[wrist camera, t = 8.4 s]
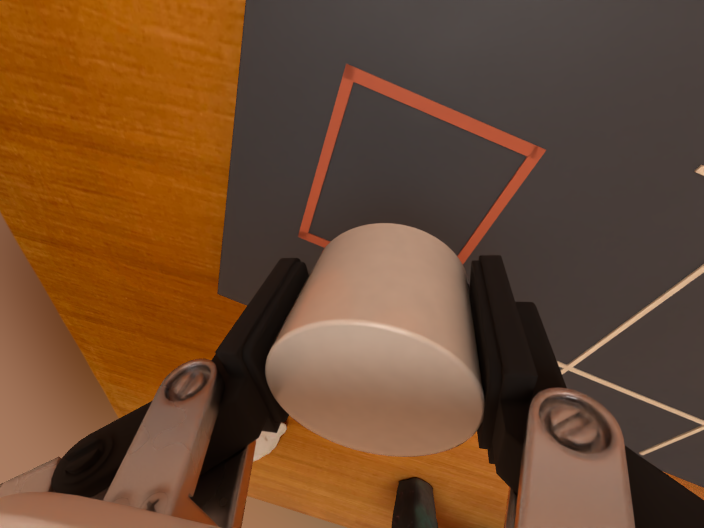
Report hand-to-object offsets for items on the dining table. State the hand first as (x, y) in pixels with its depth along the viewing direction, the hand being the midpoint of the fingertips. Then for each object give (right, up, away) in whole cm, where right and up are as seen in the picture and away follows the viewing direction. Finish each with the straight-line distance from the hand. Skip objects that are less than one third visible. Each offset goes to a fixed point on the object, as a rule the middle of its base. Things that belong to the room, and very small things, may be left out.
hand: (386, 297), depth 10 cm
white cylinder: (0, 0, 0) cm, 0 cm away
